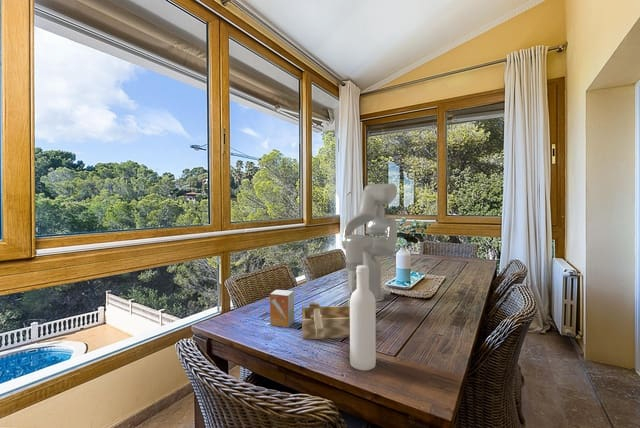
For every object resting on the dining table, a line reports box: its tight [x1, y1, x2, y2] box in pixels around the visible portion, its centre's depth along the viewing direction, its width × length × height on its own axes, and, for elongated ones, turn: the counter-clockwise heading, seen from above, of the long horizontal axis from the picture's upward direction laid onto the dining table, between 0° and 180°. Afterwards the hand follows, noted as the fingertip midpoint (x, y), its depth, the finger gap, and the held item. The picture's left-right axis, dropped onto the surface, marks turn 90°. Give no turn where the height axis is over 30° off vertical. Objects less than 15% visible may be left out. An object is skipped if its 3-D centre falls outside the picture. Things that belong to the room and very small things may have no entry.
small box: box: [269, 289, 295, 329], centre depth 119 cm, size 8×6×13 cm
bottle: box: [349, 265, 377, 371], centre depth 88 cm, size 8×8×30 cm
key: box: [314, 309, 325, 340], centre depth 95 cm, size 2×16×3 cm, turn 5°
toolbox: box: [301, 301, 350, 340], centre depth 112 cm, size 20×15×8 cm
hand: (354, 306), depth 127 cm, fingers open, 3 cm apart
